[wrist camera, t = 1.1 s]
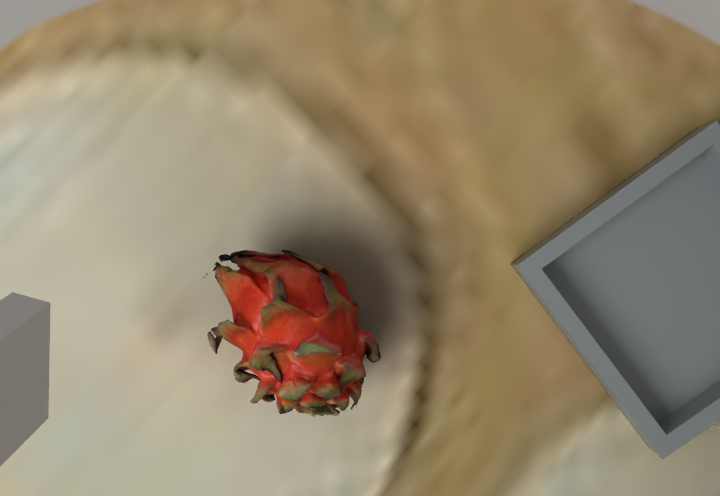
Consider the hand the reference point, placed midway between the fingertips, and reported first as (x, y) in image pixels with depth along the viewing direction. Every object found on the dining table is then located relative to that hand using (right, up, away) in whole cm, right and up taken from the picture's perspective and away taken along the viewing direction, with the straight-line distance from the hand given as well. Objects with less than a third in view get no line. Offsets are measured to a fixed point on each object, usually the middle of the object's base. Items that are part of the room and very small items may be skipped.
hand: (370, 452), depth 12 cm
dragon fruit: (-4, -1, +30) cm, 30 cm away
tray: (+19, +1, +28) cm, 34 cm away
